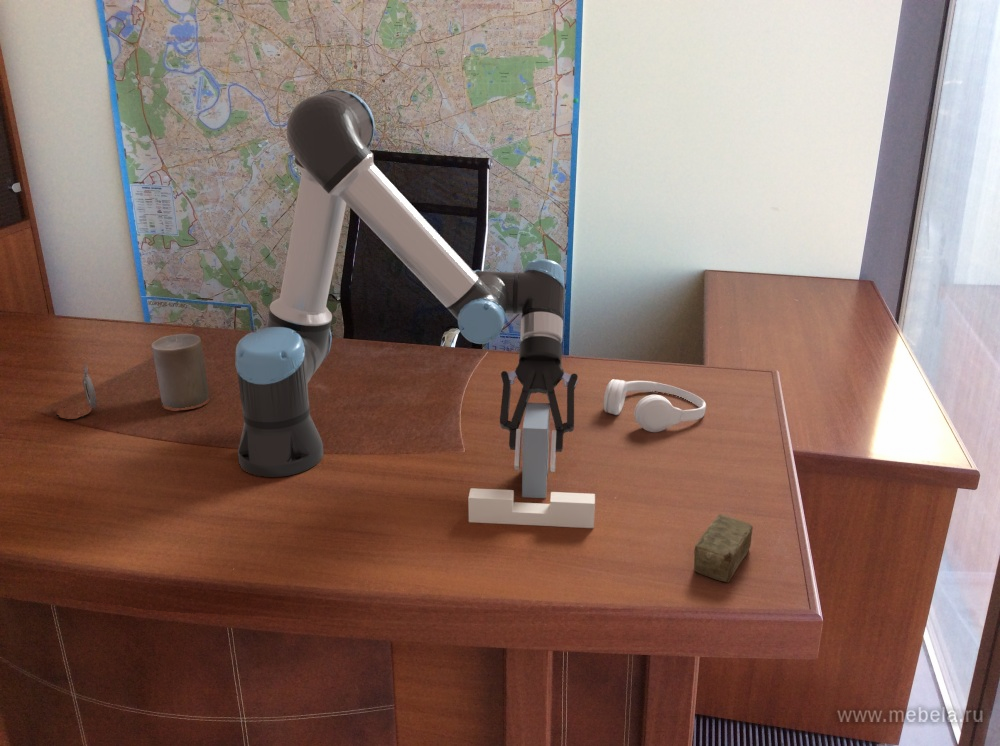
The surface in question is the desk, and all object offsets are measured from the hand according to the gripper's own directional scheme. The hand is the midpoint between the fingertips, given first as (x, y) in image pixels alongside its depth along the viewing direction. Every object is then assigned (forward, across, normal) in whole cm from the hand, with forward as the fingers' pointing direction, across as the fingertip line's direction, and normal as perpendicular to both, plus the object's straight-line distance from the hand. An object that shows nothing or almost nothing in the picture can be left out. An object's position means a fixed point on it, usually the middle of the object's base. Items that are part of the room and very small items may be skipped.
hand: (534, 468), depth 146 cm
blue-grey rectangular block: (+1, 0, -6) cm, 6 cm away
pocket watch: (-13, +94, -20) cm, 97 cm away
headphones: (-21, -23, -28) cm, 42 cm away
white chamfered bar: (+9, 0, +2) cm, 10 cm away
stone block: (+16, -29, +8) cm, 34 cm away
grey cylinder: (-18, +75, -25) cm, 81 cm away
